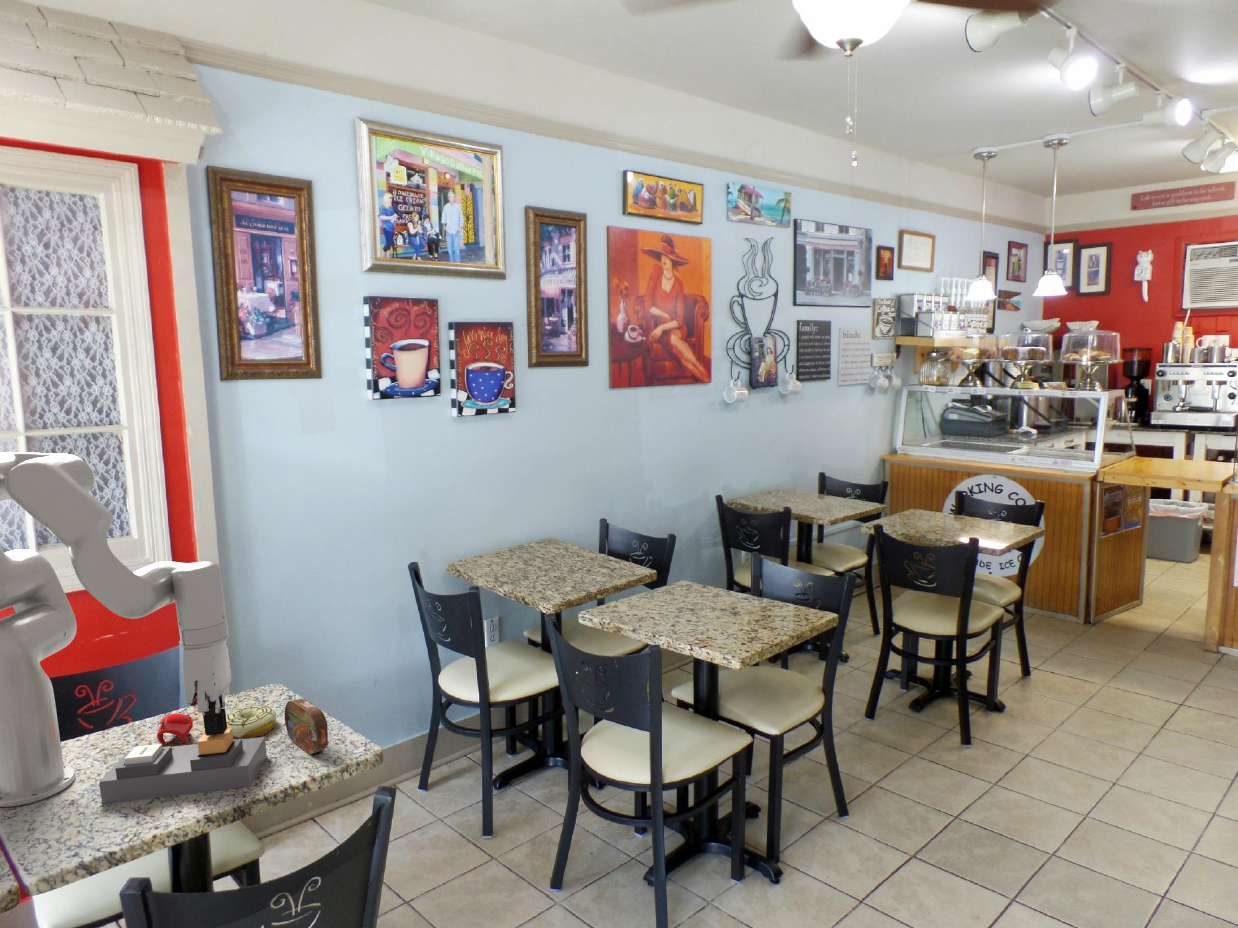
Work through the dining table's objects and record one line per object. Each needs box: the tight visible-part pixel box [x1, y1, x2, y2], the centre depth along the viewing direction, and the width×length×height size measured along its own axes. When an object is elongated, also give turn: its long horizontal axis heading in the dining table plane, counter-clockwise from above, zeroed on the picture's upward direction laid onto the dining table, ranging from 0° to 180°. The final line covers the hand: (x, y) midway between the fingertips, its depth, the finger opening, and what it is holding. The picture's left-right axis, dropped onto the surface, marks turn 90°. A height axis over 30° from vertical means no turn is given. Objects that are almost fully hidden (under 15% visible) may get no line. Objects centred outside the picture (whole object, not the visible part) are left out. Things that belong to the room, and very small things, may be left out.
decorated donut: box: [226, 704, 277, 740], centre depth 164 cm, size 10×11×4 cm
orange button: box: [197, 728, 234, 755], centre depth 143 cm, size 4×4×2 cm
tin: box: [284, 698, 329, 755], centre depth 156 cm, size 15×3×8 cm, turn 44°
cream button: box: [124, 743, 163, 765], centre depth 141 cm, size 4×4×2 cm
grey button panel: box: [98, 736, 268, 805], centre depth 144 cm, size 24×11×6 cm, turn 99°
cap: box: [156, 712, 194, 747], centre depth 160 cm, size 8×6×6 cm
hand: (216, 732), depth 143 cm, fingers closed
